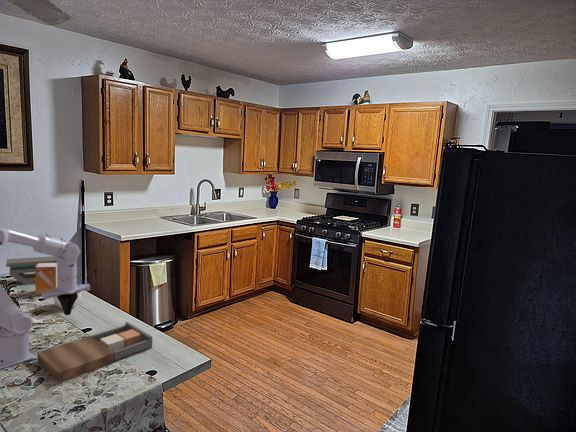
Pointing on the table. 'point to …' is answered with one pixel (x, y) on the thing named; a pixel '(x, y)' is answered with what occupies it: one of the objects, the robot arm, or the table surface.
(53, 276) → the small box
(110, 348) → the cream tile
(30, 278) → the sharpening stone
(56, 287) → the lidded jar
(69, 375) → the brown wooden board
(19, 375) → the table surface
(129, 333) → the terracotta tile
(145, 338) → the tray
